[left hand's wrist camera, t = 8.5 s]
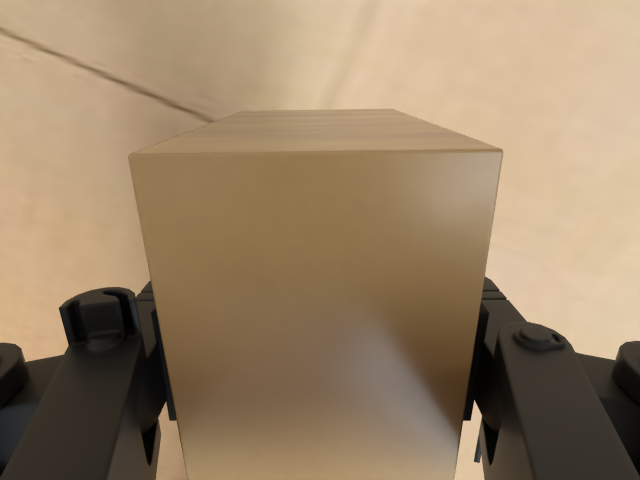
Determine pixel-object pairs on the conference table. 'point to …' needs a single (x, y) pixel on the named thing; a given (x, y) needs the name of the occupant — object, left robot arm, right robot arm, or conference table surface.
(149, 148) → the beam
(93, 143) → the conference table surface
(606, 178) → the conference table surface
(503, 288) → the conference table surface
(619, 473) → the left robot arm
